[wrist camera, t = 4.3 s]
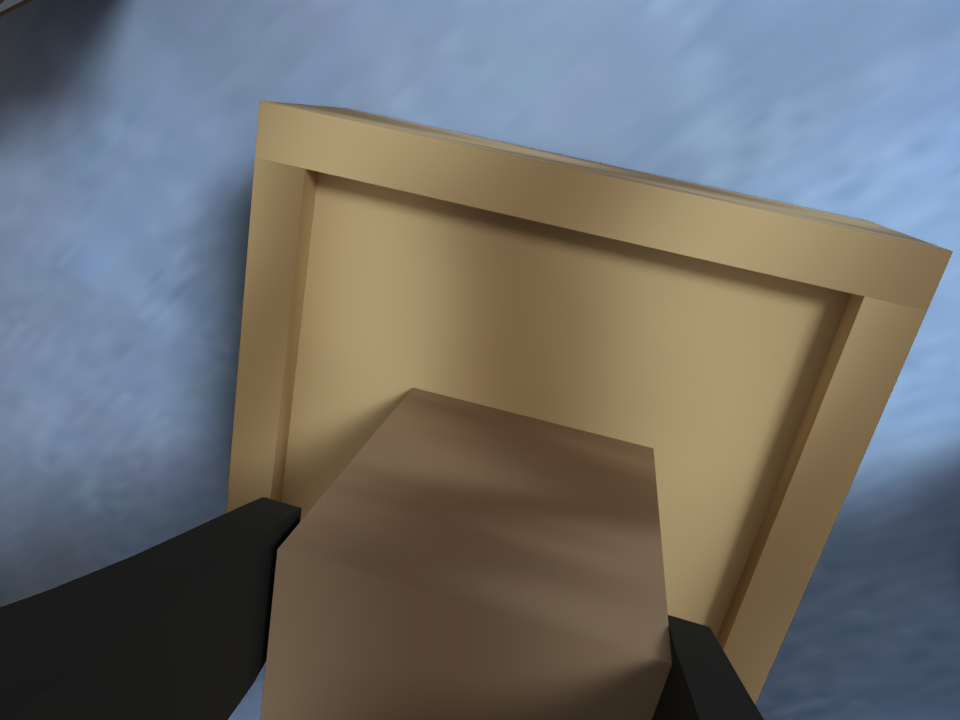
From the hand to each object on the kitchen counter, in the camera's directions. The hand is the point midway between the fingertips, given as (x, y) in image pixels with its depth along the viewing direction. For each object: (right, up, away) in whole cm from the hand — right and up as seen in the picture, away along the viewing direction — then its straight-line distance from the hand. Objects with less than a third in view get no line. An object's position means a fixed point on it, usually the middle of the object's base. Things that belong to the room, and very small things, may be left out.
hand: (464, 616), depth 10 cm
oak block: (+2, +3, +8) cm, 8 cm away
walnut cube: (+1, 0, +5) cm, 5 cm away
